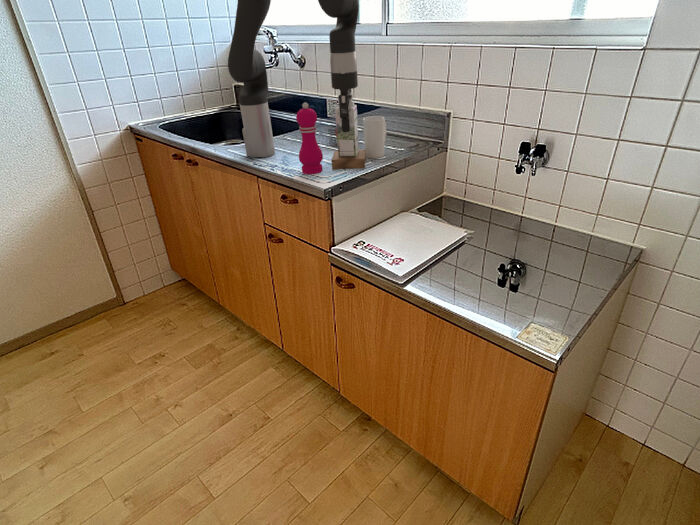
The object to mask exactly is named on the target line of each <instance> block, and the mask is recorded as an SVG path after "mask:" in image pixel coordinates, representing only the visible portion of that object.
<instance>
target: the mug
mask: <svg viewBox="0 0 700 525" xmlns="http://www.w3.org/2000/svg"><path fill="white" fill-rule="evenodd" d="M362 124H363V125H362V127H363V139H364V140H363V143H364V150H366V159H372V160H373V159H381V158H383V157H384V156H385V144H386V138H387V125H386V121H385V117H384V116H381V115H380V116H379V115H378V116H377V115H372V116H366V117H363V118H362Z"/></svg>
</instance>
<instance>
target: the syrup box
mask: <svg viewBox="0 0 700 525" xmlns="http://www.w3.org/2000/svg"><path fill="white" fill-rule="evenodd" d="M357 107H358V106H357V104H352V105H351V111H350V112H349V115H350V117H349V124H350V131H349V132H343V131H342V119H341V118H340V111H339V104H338V105H337V106H336V107H335V108H334V113H335V114H334V115H335V126H336V128H335V129H336V130H337V138H336V141H337V151H338V156H339V157H356V156H357V154H358V152H359V150H360V147H359V131H358V130H359V129H358V127H359V126H358V108H357ZM343 113H347V112H343Z"/></svg>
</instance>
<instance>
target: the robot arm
mask: <svg viewBox="0 0 700 525" xmlns="http://www.w3.org/2000/svg"><path fill="white" fill-rule="evenodd" d="M317 1H318V4H319V7H320V8H321V11H323V13H325V14H326V16H328V17H330V18H333V19H334V18H335V19H336V24H335V27H334V28H332V29H331V30H330V32H329V35H328V36H329V38H328V39H329V52H330V54H329V55H330V58H329V59H330V60H329V65H330V77H331V88H332V89H333V90H339V91H340V92H339V93H340V94H338V96H337V100H338V105H339V111H340V118H341V119H342V131H343V132H349V131H350V124H349V117H350V115H349V112H350V111H351V105H353V93H352V89H357V87H358V85H359V84H358V82H359V80H358V61H357V53H356V29H357V25H358V18H359V11H360V10H359V8H360V6H359V4H360V3H359V0H317ZM271 2H272V0H237V3H236V4H237V6H236V12H235V13H236V14H235V19H234V20H235V21H234V28H233V29H234V30H233V35H232V39H231V43H230V49H229V52H228V59H227V70H228V73H229V75H230V77H231V78H232V80H234V81H235V82H237V83H241V84H242V83H243V88H242V90H241V92H240V93H239V95H238V103H239V108H240V114H241V119H242V125H243V128H242V136H243V142H244V148H245V153H246V157H247V156H252V157H262V158H268V157H271V156H273V155H275V154H276V149H275V143H274V137H273V129H272V122H271V121H272V120H271V115H270V108H269V103H268V96H269V84H268V74H267V73H268V72H267V71H268V70H267V65H266V61H265V58H264V56H263V55H262V54H261V52H260V51H259V50H257V49H255V45H256V40H257V36H258V34H259V31H260V29H261V28H262V26H263V24H264V22H265V19H266V17H267V15H268V13H269V11H270V6H271ZM343 112H347V113H343ZM252 157H251V158H252Z"/></svg>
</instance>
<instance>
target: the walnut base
mask: <svg viewBox="0 0 700 525" xmlns="http://www.w3.org/2000/svg"><path fill="white" fill-rule="evenodd" d="M366 161H367V157H366V150H365V149H359V152H358V154H357V156H356V157H339V156H338V150H334V151H333V155H332V158H331V169H332V170H333V171H334V170H357V169H358V170H359V169H361V170H362V169H365V168H366Z"/></svg>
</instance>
